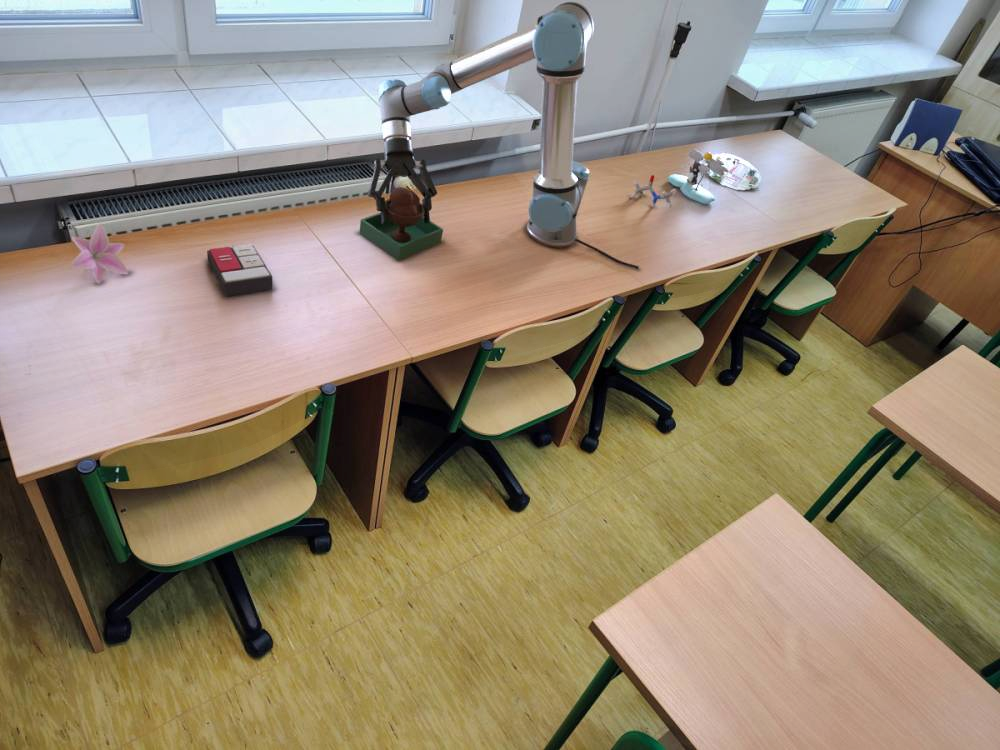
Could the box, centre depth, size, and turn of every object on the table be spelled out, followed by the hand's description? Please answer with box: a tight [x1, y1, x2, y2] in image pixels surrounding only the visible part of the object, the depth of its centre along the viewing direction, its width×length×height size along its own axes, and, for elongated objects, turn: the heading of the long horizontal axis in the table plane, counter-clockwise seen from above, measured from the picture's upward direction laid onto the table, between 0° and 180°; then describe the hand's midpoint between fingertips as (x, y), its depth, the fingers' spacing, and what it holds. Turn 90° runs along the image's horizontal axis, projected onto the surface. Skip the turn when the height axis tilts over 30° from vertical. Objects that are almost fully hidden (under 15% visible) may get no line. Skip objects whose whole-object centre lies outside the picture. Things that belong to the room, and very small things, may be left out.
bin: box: [359, 211, 444, 261], centre depth 194 cm, size 15×16×4 cm
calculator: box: [206, 243, 273, 297], centre depth 168 cm, size 11×4×15 cm
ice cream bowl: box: [385, 186, 425, 242], centre depth 190 cm, size 11×11×15 cm
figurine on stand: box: [667, 148, 728, 205], centre depth 252 cm, size 20×11×15 cm, turn 30°
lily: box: [69, 222, 129, 284], centre depth 158 cm, size 12×12×10 cm
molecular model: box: [630, 174, 677, 209], centre depth 240 cm, size 18×8×10 cm, turn 42°
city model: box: [703, 152, 763, 191], centre depth 274 cm, size 25×23×6 cm
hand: (406, 222), depth 190 cm, fingers closed on ice cream bowl, 11 cm apart
